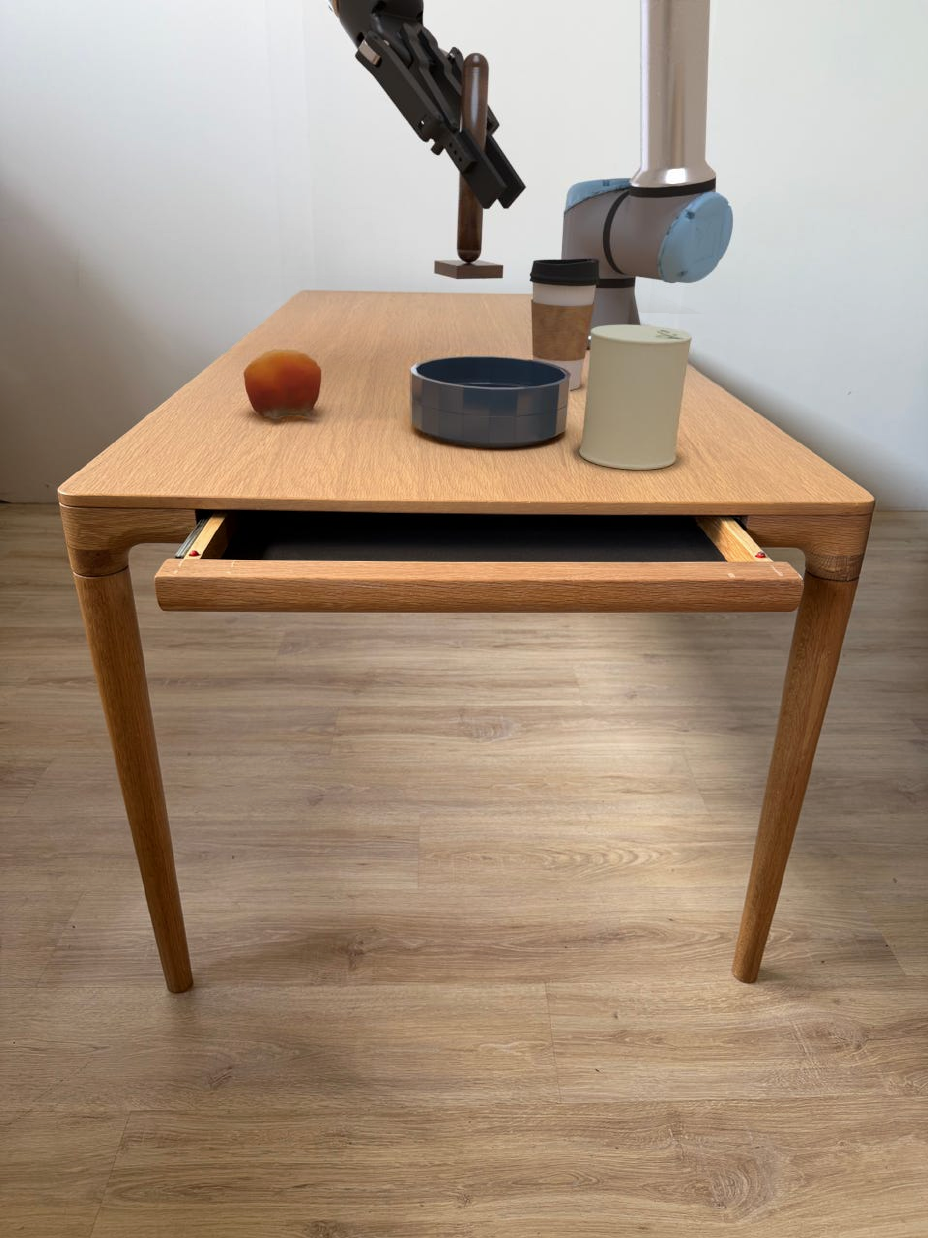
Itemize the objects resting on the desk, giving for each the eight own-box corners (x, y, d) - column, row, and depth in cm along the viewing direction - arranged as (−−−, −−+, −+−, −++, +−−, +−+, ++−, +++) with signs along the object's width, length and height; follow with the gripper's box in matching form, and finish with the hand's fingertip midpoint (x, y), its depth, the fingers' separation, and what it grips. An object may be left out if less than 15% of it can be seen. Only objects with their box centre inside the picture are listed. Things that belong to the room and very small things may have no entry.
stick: (478, 272, 93) (487, 56, 84) (503, 278, 89) (514, 52, 80) (433, 273, 90) (438, 52, 82) (456, 279, 86) (464, 47, 78)
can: (654, 476, 83) (672, 339, 78) (562, 458, 87) (573, 327, 82) (689, 453, 90) (707, 326, 85) (602, 437, 94) (615, 315, 89)
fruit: (264, 417, 91) (247, 339, 92) (248, 440, 99) (233, 368, 99) (340, 410, 95) (324, 335, 95) (320, 433, 102) (305, 363, 102)
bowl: (547, 410, 104) (551, 356, 101) (582, 450, 90) (588, 388, 87) (405, 410, 102) (405, 355, 99) (417, 451, 88) (418, 388, 85)
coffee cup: (587, 395, 112) (599, 263, 105) (518, 389, 113) (525, 259, 106) (592, 381, 119) (604, 257, 112) (527, 376, 120) (535, 253, 114)
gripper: (402, 37, 94) (526, 225, 92) (290, 16, 83) (428, 229, 81) (444, -30, 89) (576, 168, 87) (330, -62, 78) (479, 164, 76)
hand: (505, 197), depth 84 cm, fingers closed on stick, 2 cm apart
